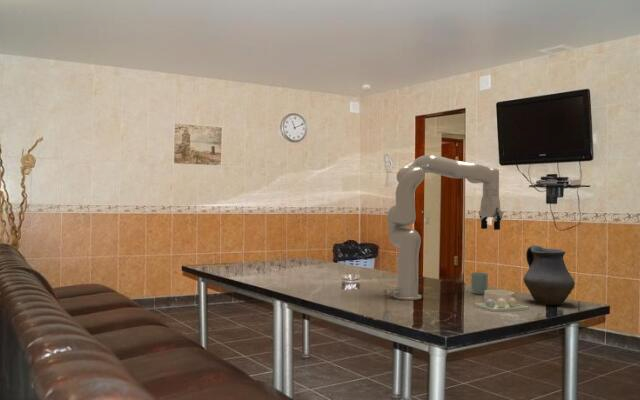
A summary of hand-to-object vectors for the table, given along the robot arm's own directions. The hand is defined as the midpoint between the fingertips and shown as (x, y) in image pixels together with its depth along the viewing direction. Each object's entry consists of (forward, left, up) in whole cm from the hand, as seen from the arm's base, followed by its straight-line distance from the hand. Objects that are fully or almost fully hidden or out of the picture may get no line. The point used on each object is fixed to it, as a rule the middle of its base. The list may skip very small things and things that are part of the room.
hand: (490, 229), depth 260 cm
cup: (-6, 0, -31) cm, 32 cm away
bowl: (-11, -21, -31) cm, 39 cm away
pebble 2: (-20, -34, -31) cm, 50 cm away
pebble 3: (-14, -34, -31) cm, 48 cm away
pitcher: (+8, -29, -31) cm, 43 cm away
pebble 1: (-26, -34, -31) cm, 52 cm away
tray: (-20, -34, -31) cm, 50 cm away
